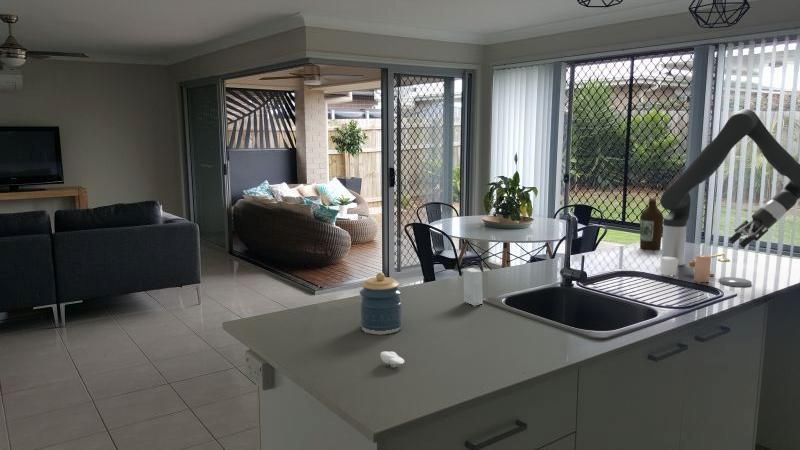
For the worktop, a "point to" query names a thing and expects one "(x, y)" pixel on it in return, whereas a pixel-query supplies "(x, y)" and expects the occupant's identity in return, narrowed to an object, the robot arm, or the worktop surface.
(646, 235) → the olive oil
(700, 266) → the wooden block
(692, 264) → the balance
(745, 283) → the dish
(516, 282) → the worktop surface
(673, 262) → the shot glass
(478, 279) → the skincare box
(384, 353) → the dumpling
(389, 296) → the canister
